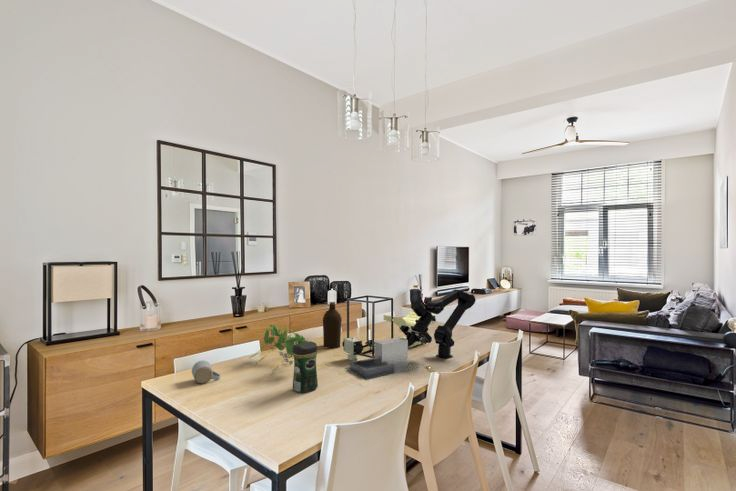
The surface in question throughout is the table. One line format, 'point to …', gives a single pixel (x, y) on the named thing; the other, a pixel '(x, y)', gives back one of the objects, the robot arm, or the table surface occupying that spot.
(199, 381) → the ceramic mug
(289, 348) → the plant cuttings
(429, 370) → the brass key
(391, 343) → the block
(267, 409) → the table surface
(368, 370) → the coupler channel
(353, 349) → the pneumatic valve
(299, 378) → the coffee jar
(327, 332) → the olive oil
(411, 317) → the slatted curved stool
